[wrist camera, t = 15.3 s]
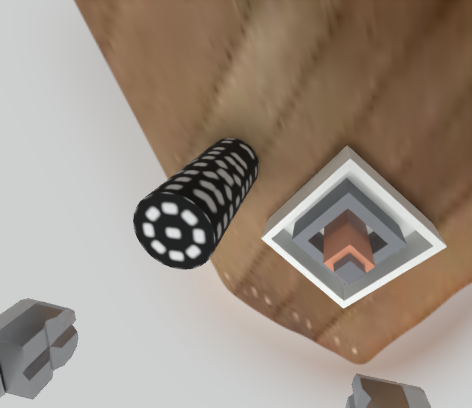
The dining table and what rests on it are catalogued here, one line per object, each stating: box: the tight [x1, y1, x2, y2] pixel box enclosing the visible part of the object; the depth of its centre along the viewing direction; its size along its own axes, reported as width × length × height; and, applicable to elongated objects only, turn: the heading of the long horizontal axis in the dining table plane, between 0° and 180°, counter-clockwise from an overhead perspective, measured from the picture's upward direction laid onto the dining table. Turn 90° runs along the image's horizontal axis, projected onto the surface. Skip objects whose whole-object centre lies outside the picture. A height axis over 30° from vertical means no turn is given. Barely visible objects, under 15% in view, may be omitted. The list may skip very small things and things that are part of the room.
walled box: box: [261, 145, 447, 308], centre depth 42 cm, size 16×16×6 cm
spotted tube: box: [133, 138, 259, 269], centre depth 37 cm, size 8×8×20 cm
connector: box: [323, 209, 375, 285], centre depth 39 cm, size 4×4×12 cm
